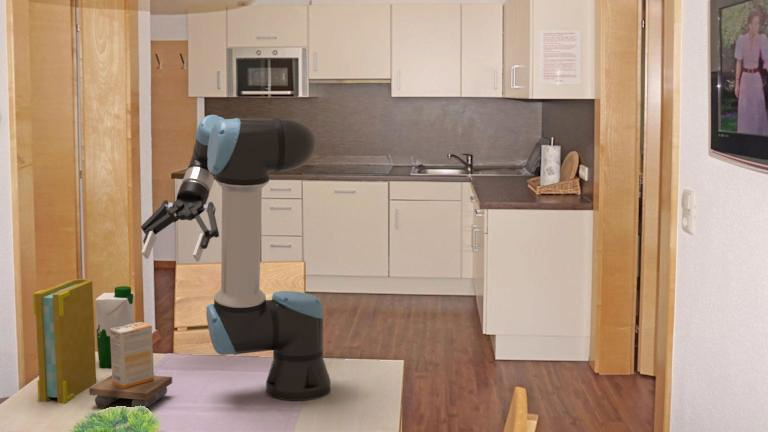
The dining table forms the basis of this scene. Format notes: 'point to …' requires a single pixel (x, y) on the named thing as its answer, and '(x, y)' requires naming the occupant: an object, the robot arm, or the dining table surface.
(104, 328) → the milk carton
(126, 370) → the supplement box
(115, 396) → the slab
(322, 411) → the dining table surface
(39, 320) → the book
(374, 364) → the dining table surface
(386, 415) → the dining table surface
